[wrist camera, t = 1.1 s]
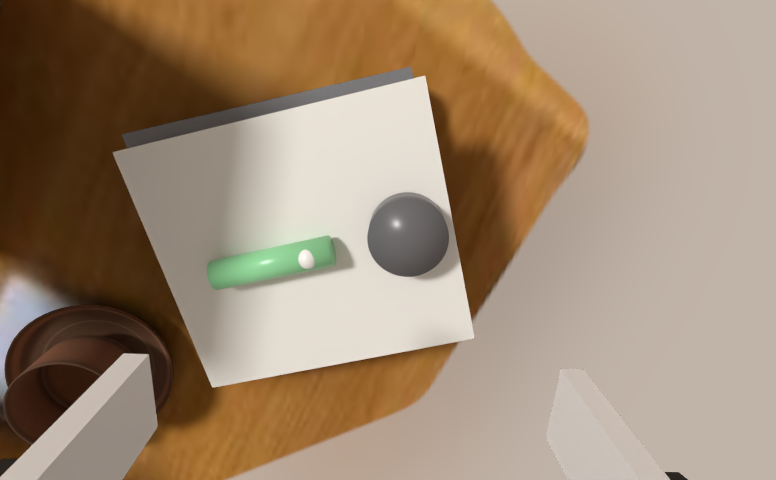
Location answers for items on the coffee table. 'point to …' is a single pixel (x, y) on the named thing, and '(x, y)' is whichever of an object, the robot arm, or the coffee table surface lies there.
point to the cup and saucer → (74, 362)
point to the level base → (262, 108)
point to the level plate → (306, 234)
